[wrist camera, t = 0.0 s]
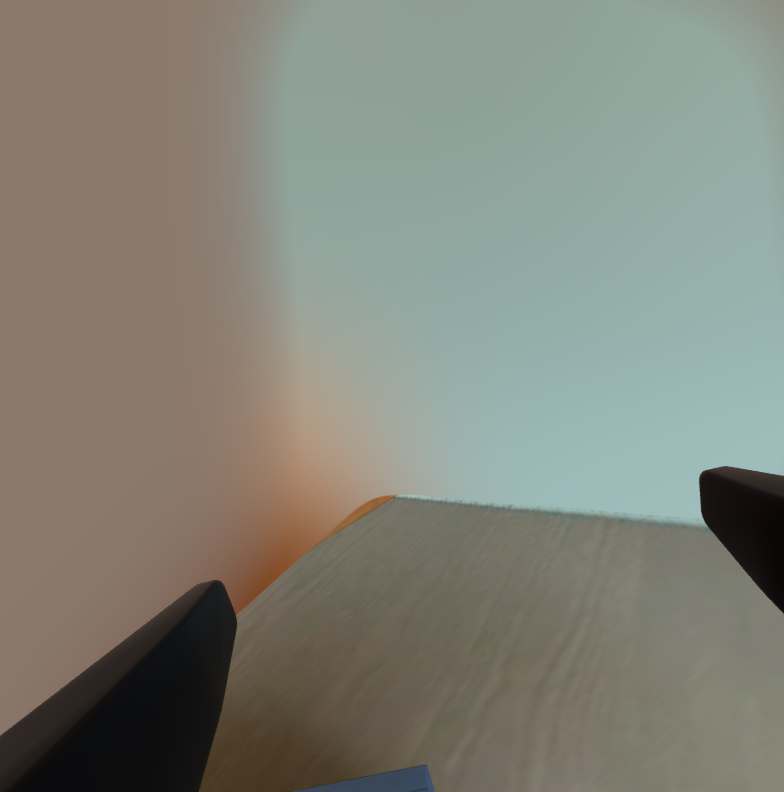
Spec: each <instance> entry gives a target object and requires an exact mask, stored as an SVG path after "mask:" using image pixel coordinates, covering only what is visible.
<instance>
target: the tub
mask: <svg viewBox="0 0 784 792" xmlns="http://www.w3.org/2000/svg"><path fill="white" fill-rule="evenodd" d="M292 792H435V791H434V788H433V784H432V781H431V778H430V774H429V771H428V767H427V765H421V766H416V767H411V768H406V769H401V770H396V771H391V772H386V773H381V774H376V775H371V776H366V777H361V778H356V779H351V780H346V781H342V782H337V783H332V784H327V785H322V786H317V787H312V788H307V789H302V790H297V791H292Z"/></svg>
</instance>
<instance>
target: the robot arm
mask: <svg viewBox="0 0 784 792" xmlns="http://www.w3.org/2000/svg"><path fill="white" fill-rule="evenodd" d="M699 485H700V499H701V500H700V501H701V512H702V516H703V519H704V521H705V523H706V524H707V526H708V527H709V528H710V530H711V531H712V532H713V533H714V534H715V536H716V537H717V538H718V539H719V540H720V542H721V543H722V544H723V545H724V546H725V547H726V549H727V550H728V551H729V552H730V553H731V555H732V556H733V557H734V558H735V559H736V561H737V562H738V563H739V564H740V565H741V567H742V568H743V569H744V570H745V571H746V573H747V574H748V575H749V576H750V577H751V579H752V580H753V581H754V582H755V583H756V584H757V586H758V587H759V588H760V589H761V590H762V591H763V592H764V593H765V595H766V596H767V597H768V598H769V599H770V600H771V601H772V602H773V603H774V604H775V605H776V606H777V607H778V608H779V609H780V610H781V611H782V612H783V613H784V476H781V475H775V474H769V473H763V472H758V471H752V470H746V469H740V468H734V467H728V466H723V467H718V468H714V469H709V470H705V471H703V472H702V473H701V474H700V478H699ZM236 630H237V619H236V614H235V612H234V609H233V606H232V604H231V601H230V599H229V596H228V594H227V591H226V589H225V586H224V585H223V583H222V582H221V581H219V580H213V581H208V582H204V583H200V584H197V585H196V586H194V587H193V588H192V589H190V590H189V591H188V592H186V593H185V594H184V595H183V596H181V597H180V598H179V599H177V600H176V601H175V602H174V603H172V604H171V605H170V606H168V607H167V608H166V609H164V610H163V611H162V612H160V613H159V614H158V615H157V616H155V617H154V618H153V619H151V620H150V621H149V622H147V623H146V624H145V625H144V626H142V627H141V628H140V629H138V630H137V631H136V632H134V633H133V634H132V635H131V636H129V637H128V638H127V639H125V640H124V641H123V642H121V643H120V644H119V645H118V646H116V647H115V648H114V649H112V650H111V651H110V652H108V653H107V654H106V655H105V656H103V657H102V658H101V659H100V660H98V661H97V662H95V663H94V664H93V665H92V666H90V667H89V668H88V669H86V670H85V671H84V672H82V673H81V674H80V675H79V676H77V677H76V678H75V679H73V680H72V681H71V682H70V683H68V684H67V685H66V686H64V687H63V688H62V689H60V690H59V691H58V692H57V693H55V694H54V695H53V696H51V697H50V698H49V699H47V700H46V701H45V702H43V703H42V704H41V705H40V706H38V707H37V708H36V709H35V710H33V711H32V712H30V713H29V714H28V715H27V716H25V717H24V718H23V719H21V720H20V721H19V722H17V723H16V724H15V725H14V726H12V727H11V728H10V729H8V730H7V731H6V732H4V733H3V734H2V735H1V736H0V792H199V789H200V785H201V782H202V778H203V775H204V771H205V768H206V764H207V761H208V757H209V754H210V750H211V747H212V743H213V740H214V736H215V733H216V729H217V725H218V722H219V718H220V714H221V710H222V705H223V700H224V695H225V690H226V684H227V679H228V673H229V668H230V663H231V657H232V652H233V646H234V641H235V635H236Z"/></svg>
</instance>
